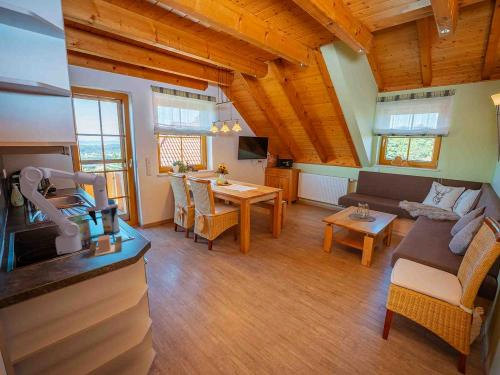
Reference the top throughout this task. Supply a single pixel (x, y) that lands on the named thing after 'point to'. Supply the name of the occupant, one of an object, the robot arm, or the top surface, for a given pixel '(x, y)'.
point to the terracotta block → (104, 243)
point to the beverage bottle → (110, 221)
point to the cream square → (105, 252)
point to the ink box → (82, 228)
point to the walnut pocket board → (117, 249)
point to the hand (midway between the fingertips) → (105, 223)
